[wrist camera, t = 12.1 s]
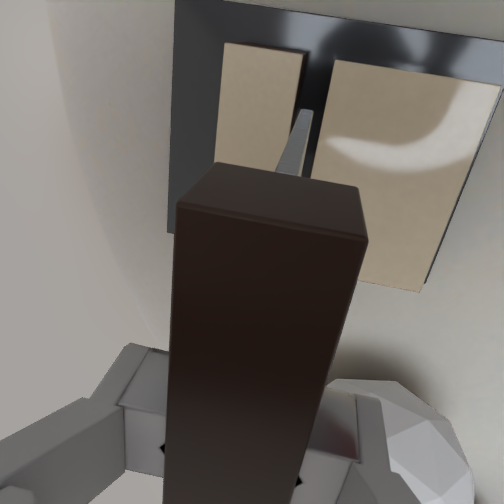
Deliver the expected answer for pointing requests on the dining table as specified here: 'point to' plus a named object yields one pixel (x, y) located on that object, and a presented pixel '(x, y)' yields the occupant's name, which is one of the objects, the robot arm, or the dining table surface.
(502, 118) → the dining table surface
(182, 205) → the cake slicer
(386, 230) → the cake
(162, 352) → the robot arm
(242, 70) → the cake slice
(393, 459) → the geometric shape
